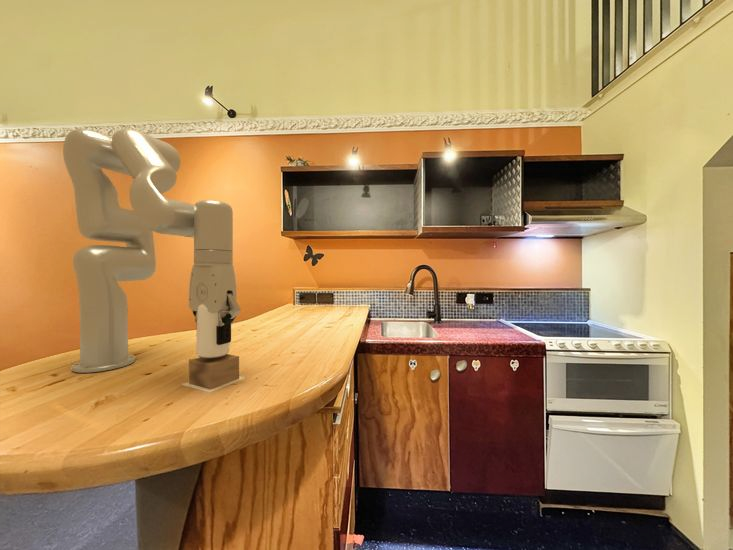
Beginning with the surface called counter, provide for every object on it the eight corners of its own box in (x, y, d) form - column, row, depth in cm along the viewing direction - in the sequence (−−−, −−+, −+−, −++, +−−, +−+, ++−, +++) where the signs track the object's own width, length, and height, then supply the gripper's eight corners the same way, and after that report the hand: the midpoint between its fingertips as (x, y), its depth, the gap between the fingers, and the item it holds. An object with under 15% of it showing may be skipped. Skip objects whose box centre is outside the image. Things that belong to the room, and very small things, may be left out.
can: (215, 360, 61) (217, 302, 61) (188, 356, 63) (190, 300, 62) (235, 351, 68) (237, 299, 67) (211, 348, 69) (212, 297, 68)
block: (189, 383, 64) (188, 360, 63) (218, 373, 70) (218, 352, 70) (210, 389, 60) (210, 365, 60) (239, 378, 67) (239, 356, 67)
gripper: (172, 258, 65) (172, 340, 65) (225, 258, 57) (225, 351, 58) (204, 259, 72) (204, 334, 72) (256, 259, 64) (255, 342, 65)
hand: (213, 340), depth 65 cm, fingers closed on can, 5 cm apart
